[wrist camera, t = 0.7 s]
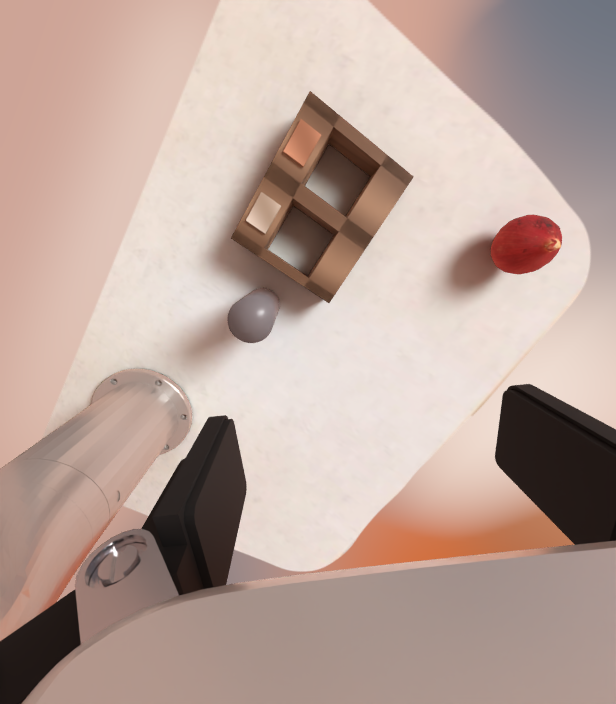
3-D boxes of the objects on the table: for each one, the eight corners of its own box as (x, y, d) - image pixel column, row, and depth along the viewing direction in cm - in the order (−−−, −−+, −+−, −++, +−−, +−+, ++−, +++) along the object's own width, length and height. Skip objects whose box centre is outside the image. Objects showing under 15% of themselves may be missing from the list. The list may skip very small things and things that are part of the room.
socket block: (325, 298, 35) (329, 303, 31) (238, 240, 32) (230, 237, 28) (399, 186, 31) (414, 175, 27) (308, 113, 29) (310, 88, 25)
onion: (485, 216, 33) (542, 203, 25) (531, 224, 33) (602, 213, 25) (469, 268, 34) (518, 271, 27) (514, 275, 35) (574, 280, 27)
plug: (268, 326, 36) (258, 350, 26) (240, 309, 35) (219, 327, 25) (285, 299, 35) (281, 314, 25) (257, 281, 34) (241, 289, 24)
